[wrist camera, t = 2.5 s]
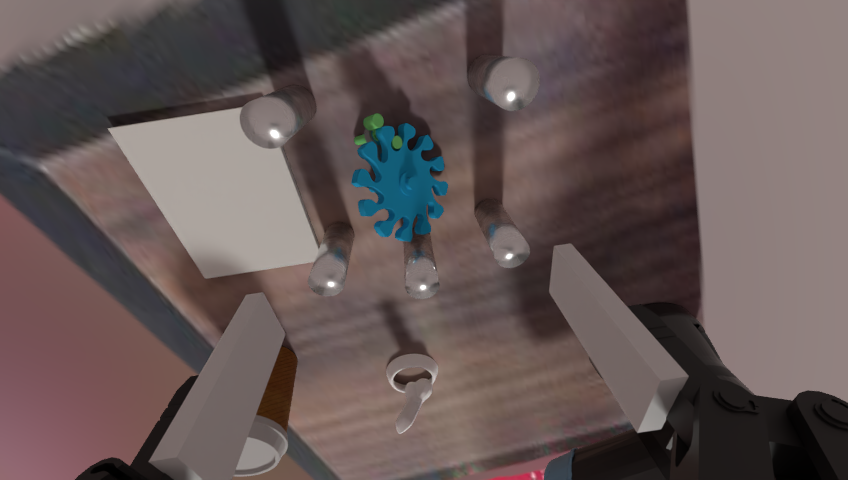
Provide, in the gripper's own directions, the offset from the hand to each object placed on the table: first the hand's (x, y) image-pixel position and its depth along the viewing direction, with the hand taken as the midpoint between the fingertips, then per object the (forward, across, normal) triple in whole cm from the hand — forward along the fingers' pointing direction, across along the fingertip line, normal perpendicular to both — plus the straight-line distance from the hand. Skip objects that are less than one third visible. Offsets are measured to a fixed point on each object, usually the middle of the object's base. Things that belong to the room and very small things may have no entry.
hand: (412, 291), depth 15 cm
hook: (+19, +4, +31) cm, 36 cm away
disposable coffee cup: (+18, +22, +24) cm, 37 cm away
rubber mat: (+18, +17, +1) cm, 25 cm away
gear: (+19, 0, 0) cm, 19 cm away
